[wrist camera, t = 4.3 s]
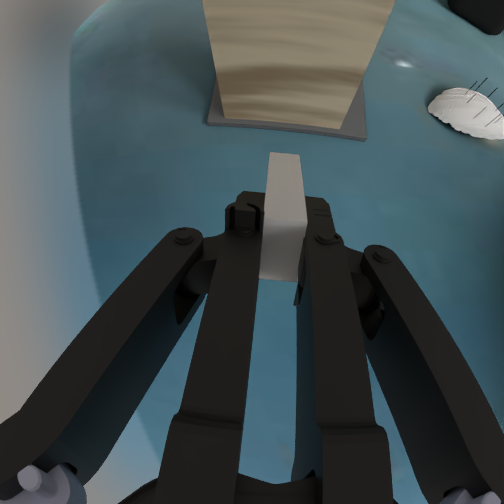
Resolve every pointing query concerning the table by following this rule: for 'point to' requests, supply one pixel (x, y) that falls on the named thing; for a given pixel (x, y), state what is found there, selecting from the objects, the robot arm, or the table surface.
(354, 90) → the slab
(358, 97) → the mat
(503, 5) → the carrying case or bag
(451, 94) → the white oblong lump
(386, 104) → the table surface
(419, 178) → the table surface
